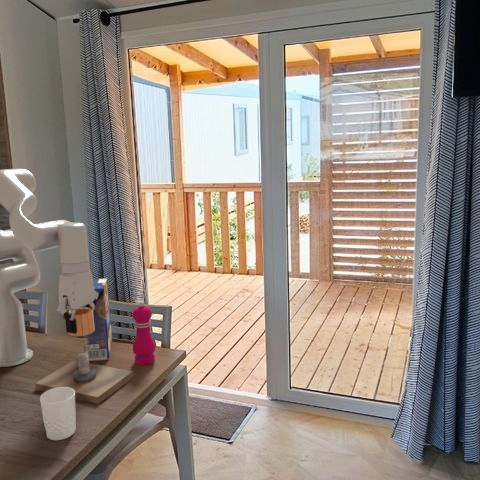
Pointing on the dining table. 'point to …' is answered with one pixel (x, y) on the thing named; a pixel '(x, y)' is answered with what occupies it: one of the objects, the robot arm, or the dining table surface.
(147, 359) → the pepper mill
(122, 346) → the dining table surface
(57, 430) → the white cup
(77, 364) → the post board
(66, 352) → the dining table surface
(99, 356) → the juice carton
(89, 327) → the ring
